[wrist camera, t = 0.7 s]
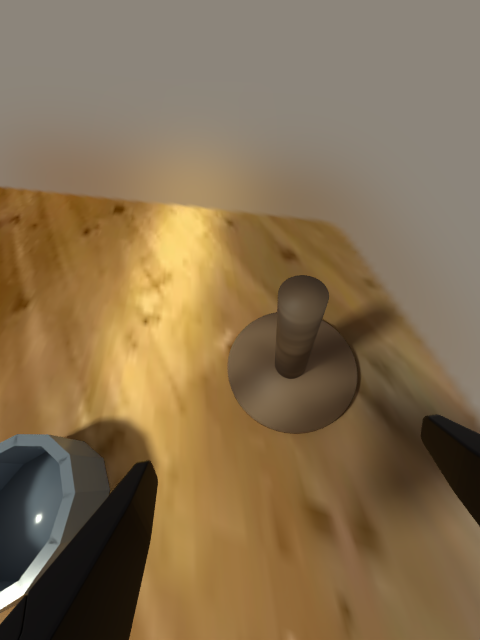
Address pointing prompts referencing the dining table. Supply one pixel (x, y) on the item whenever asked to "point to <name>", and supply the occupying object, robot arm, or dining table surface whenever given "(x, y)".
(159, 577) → the dining table surface
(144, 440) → the dining table surface
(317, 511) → the dining table surface
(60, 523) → the bowl
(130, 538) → the robot arm
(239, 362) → the brown peg on base
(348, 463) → the dining table surface
